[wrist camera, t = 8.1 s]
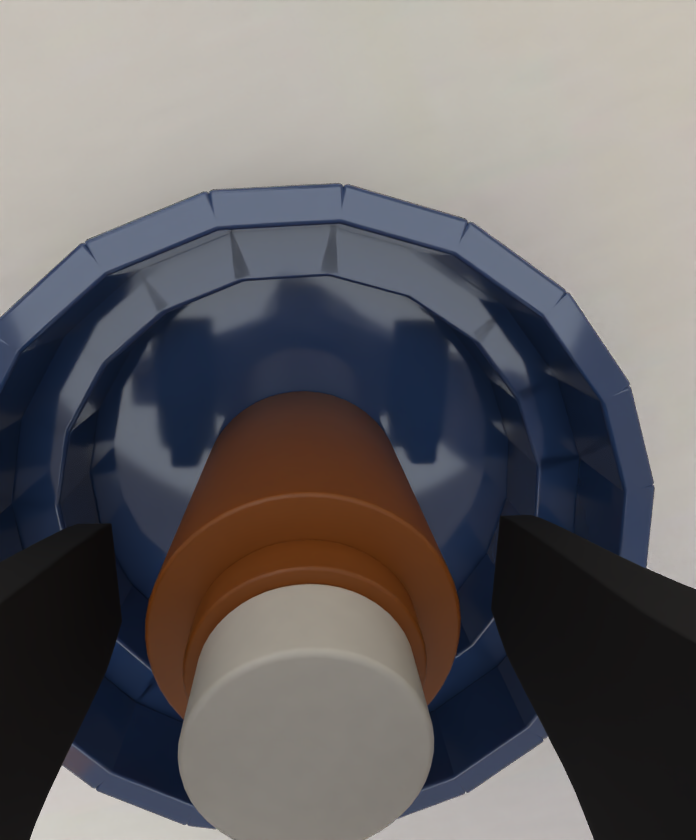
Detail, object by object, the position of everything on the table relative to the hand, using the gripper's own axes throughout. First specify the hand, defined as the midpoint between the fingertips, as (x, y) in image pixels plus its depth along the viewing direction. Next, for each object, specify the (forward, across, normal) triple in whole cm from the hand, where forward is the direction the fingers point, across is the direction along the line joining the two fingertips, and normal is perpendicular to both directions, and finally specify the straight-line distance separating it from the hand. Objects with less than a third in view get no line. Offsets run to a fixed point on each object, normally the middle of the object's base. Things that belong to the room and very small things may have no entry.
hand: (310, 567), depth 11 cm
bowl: (+4, 0, 0) cm, 5 cm away
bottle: (+4, 0, 0) cm, 4 cm away
